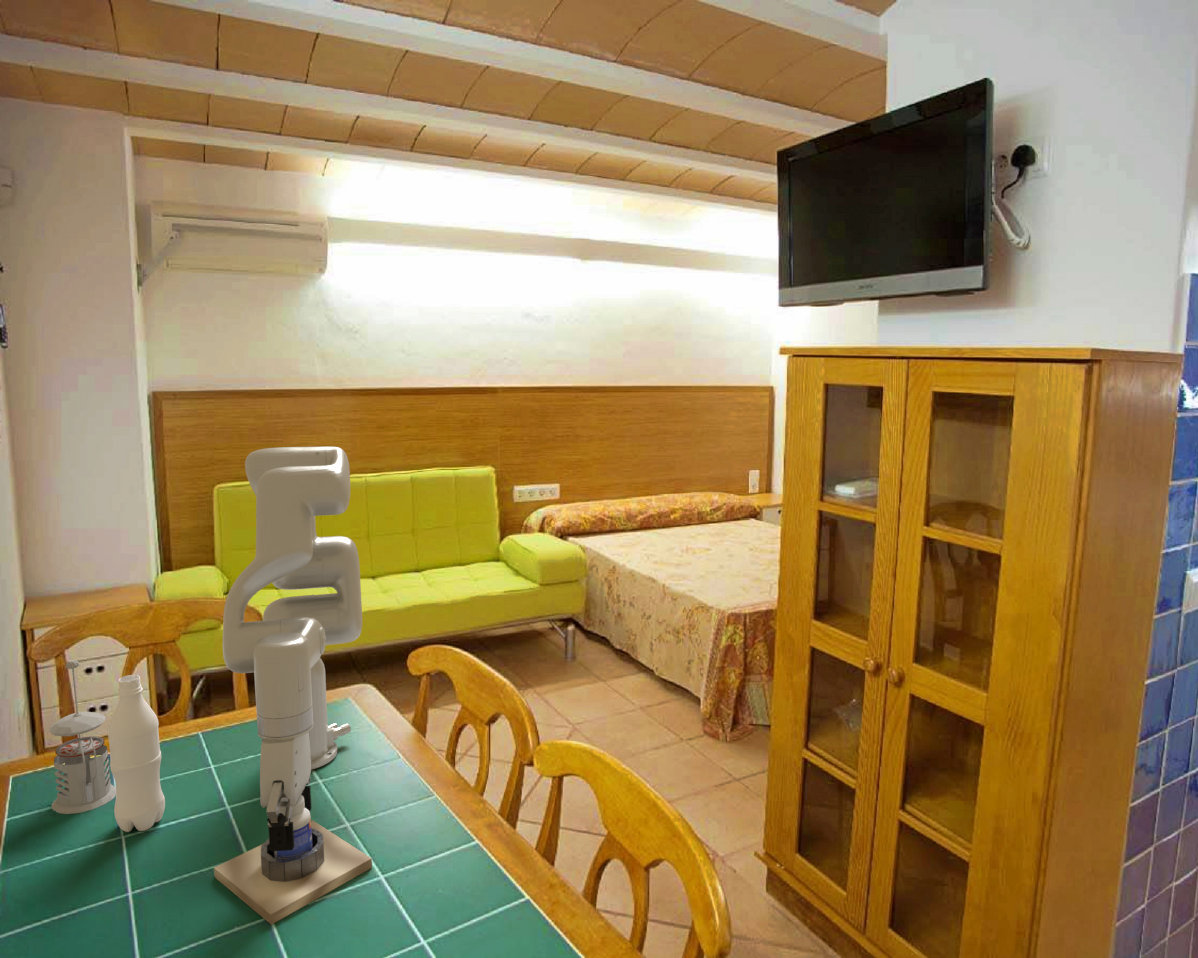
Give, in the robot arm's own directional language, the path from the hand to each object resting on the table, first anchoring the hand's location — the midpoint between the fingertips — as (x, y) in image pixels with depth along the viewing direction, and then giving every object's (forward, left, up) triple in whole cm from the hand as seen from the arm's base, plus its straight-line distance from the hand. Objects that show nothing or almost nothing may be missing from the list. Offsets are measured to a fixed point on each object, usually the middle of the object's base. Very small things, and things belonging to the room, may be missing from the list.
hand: (291, 829), depth 118 cm
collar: (0, 0, -5) cm, 5 cm away
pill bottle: (0, 0, -5) cm, 6 cm away
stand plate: (0, 0, -7) cm, 7 cm away
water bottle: (+9, -31, -7) cm, 33 cm away
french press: (+12, -46, -7) cm, 48 cm away
